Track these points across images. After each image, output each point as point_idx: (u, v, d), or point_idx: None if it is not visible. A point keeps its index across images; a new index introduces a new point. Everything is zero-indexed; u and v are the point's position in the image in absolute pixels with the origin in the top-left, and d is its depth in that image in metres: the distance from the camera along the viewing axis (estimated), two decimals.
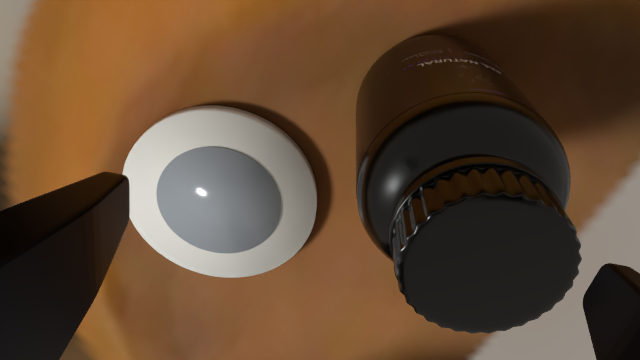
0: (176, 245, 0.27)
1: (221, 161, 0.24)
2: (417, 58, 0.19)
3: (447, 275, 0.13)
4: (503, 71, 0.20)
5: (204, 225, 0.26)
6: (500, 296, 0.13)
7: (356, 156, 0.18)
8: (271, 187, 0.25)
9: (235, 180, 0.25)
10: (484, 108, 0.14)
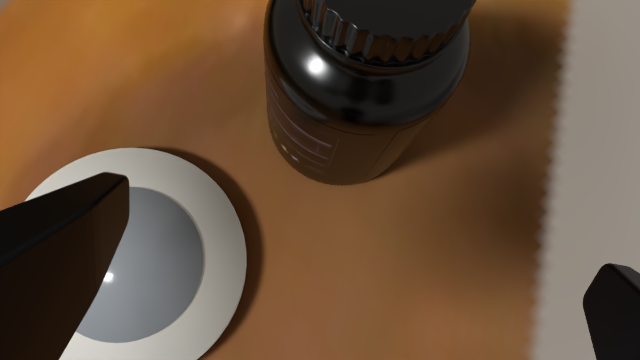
0: None
1: None
2: None
3: None
4: None
5: (104, 299, 0.20)
6: None
7: (265, 73, 0.18)
8: (188, 229, 0.21)
9: (145, 227, 0.21)
10: None
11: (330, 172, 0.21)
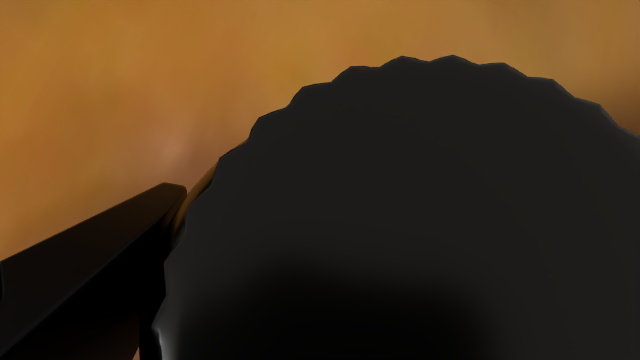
0: None
1: None
2: None
3: None
4: None
5: None
6: None
7: None
8: None
9: None
10: None
11: None
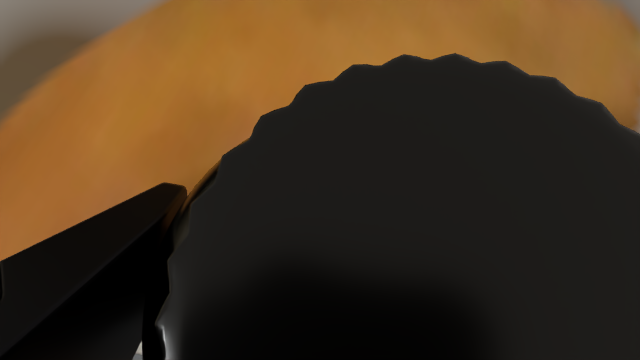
0: None
1: None
2: None
3: None
4: None
5: None
6: None
7: None
8: None
9: None
10: None
11: None
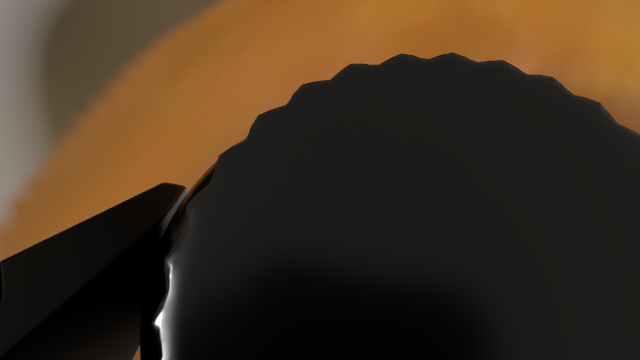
0: None
1: None
2: None
3: None
4: None
5: None
6: None
7: None
8: None
9: None
10: None
11: None
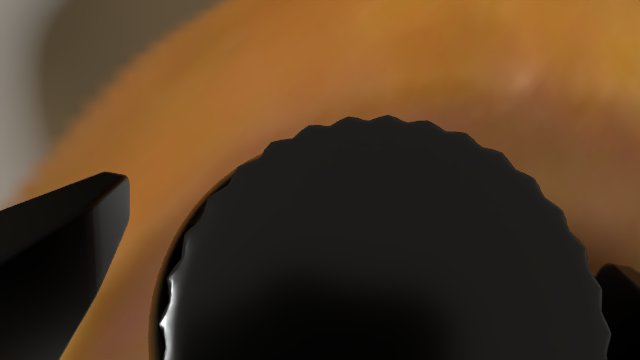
0: None
1: None
2: None
3: None
4: None
5: None
6: None
7: None
8: None
9: None
10: None
11: None
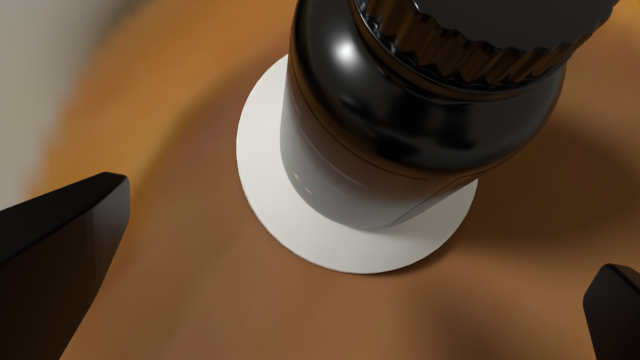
0: (274, 185, 0.19)
1: None
2: None
3: None
4: None
5: None
6: None
7: (286, 81, 0.14)
8: None
9: None
10: None
11: (351, 213, 0.16)
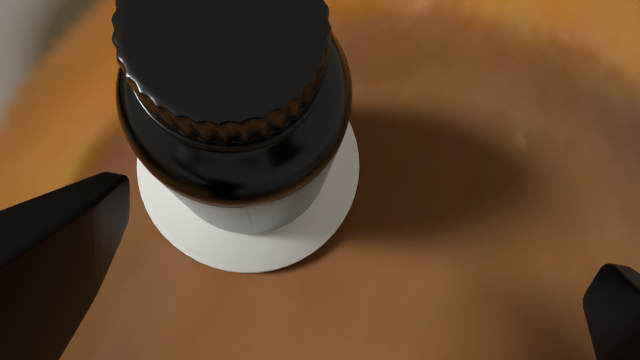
0: (174, 204, 0.22)
1: None
2: None
3: (178, 39, 0.11)
4: None
5: None
6: (252, 54, 0.11)
7: None
8: None
9: None
10: None
11: (229, 227, 0.19)
